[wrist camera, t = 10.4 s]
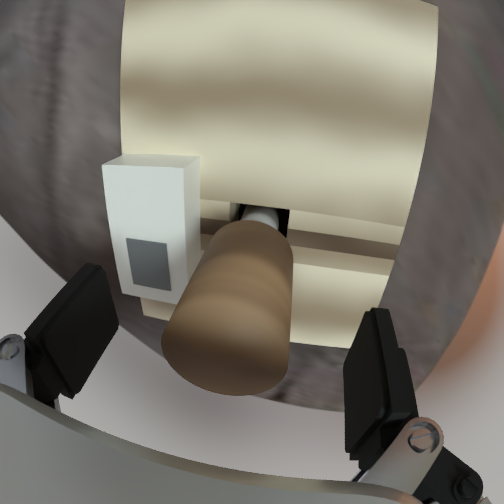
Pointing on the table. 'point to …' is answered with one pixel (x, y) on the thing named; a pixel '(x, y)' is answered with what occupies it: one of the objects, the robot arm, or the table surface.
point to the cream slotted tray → (291, 130)
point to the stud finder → (154, 222)
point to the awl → (236, 309)
